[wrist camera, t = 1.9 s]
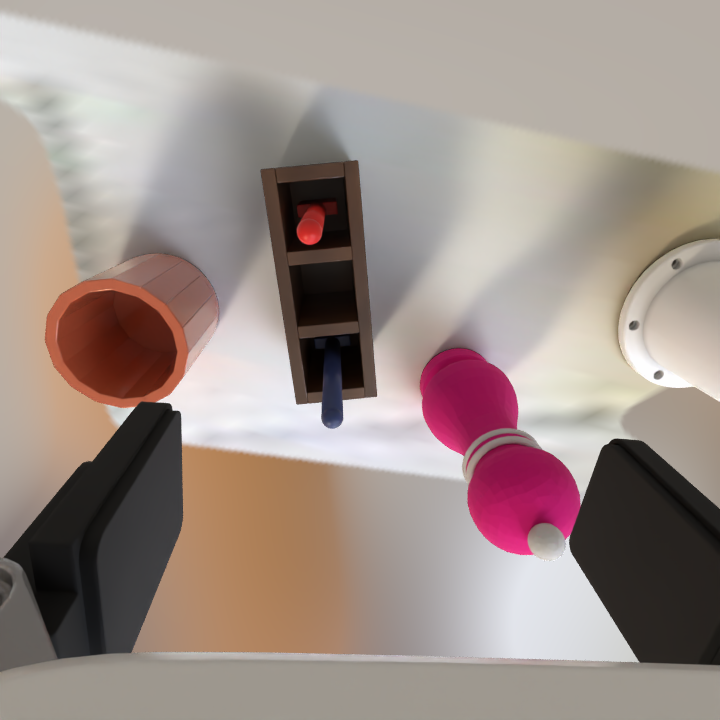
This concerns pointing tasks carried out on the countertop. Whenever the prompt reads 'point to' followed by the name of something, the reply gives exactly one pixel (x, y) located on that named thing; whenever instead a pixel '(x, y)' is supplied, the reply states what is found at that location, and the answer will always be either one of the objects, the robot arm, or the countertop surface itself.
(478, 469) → the pepper mill
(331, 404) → the blue rounded rod
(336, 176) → the caddy
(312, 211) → the red toy mallet
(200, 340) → the crock
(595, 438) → the countertop surface
